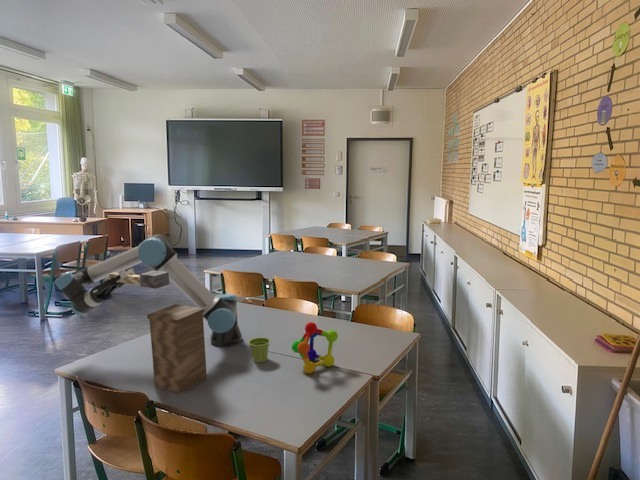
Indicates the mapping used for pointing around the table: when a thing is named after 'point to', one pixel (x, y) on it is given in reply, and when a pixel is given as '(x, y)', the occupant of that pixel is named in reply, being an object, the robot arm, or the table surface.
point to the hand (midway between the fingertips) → (129, 272)
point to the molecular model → (309, 352)
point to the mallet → (146, 279)
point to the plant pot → (259, 349)
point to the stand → (178, 347)
